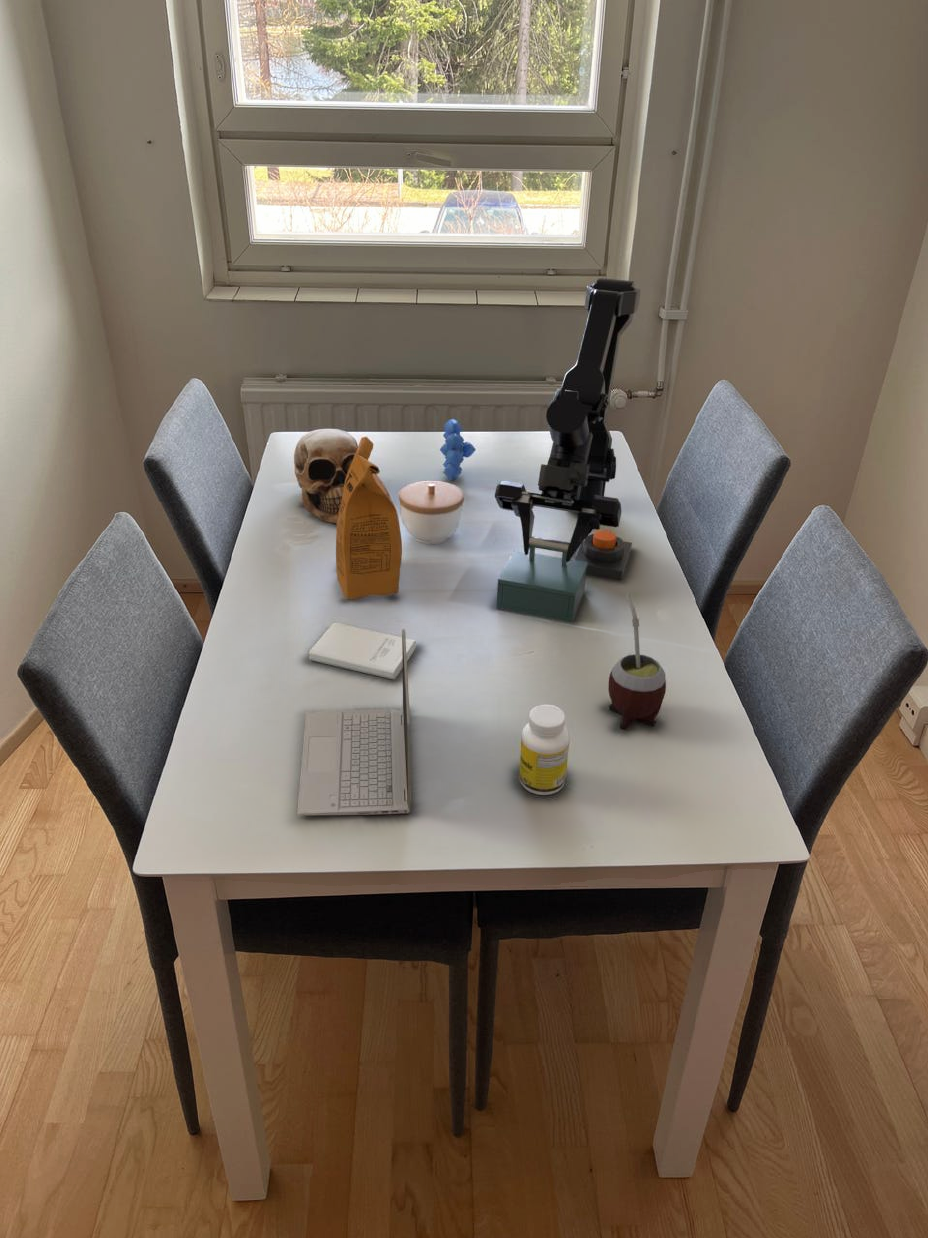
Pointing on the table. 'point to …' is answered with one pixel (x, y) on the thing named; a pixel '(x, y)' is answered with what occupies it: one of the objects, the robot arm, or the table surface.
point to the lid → (544, 569)
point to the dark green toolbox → (539, 601)
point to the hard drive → (361, 650)
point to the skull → (324, 470)
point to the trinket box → (431, 510)
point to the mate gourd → (636, 684)
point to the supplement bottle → (544, 751)
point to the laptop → (357, 760)
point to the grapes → (454, 449)
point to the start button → (604, 539)
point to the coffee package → (367, 532)
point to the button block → (604, 558)
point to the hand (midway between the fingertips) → (546, 557)
